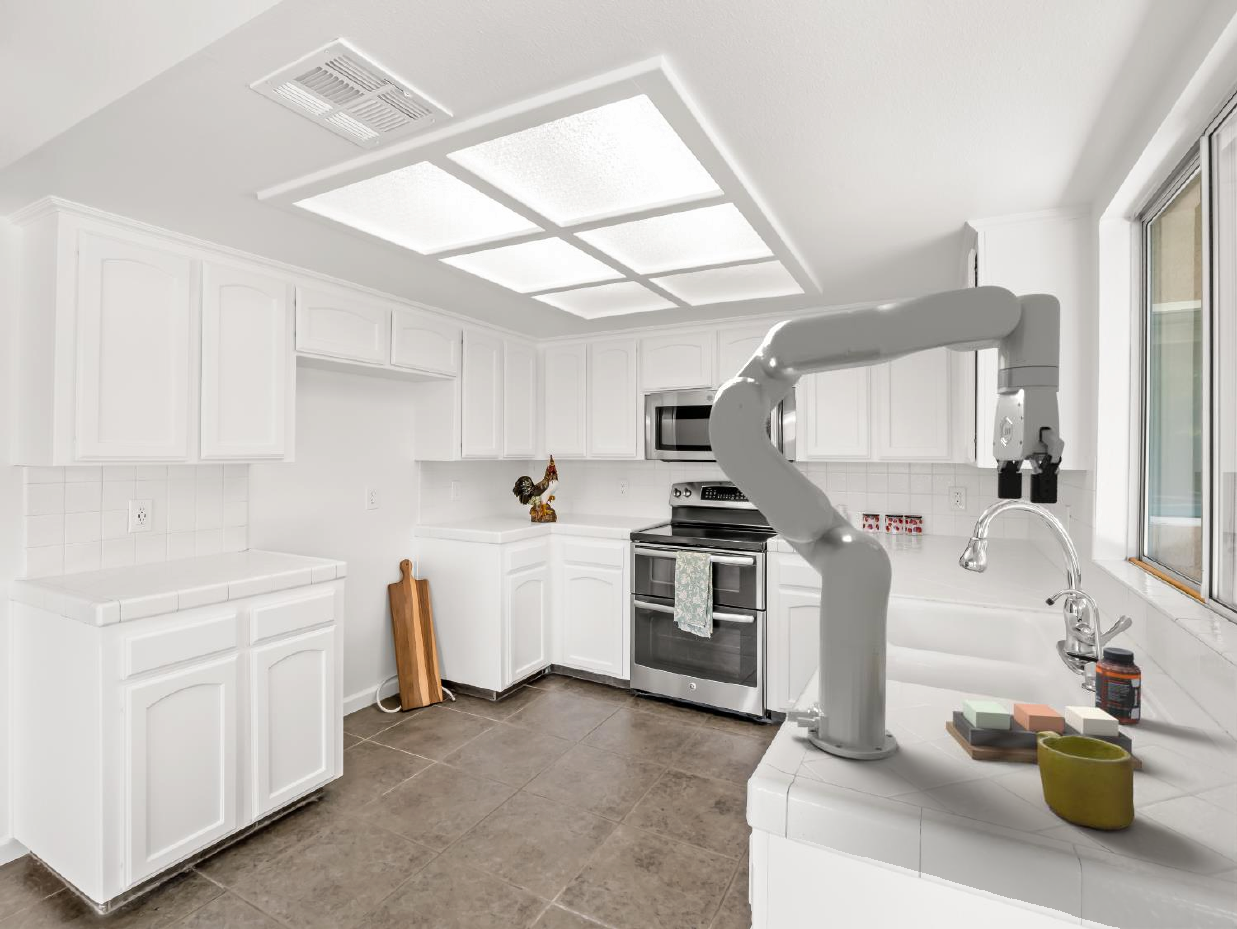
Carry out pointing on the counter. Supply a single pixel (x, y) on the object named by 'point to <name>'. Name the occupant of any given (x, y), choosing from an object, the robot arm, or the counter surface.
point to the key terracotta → (1038, 718)
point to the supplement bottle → (1118, 685)
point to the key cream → (1091, 721)
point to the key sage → (986, 715)
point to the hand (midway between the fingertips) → (1025, 500)
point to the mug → (1086, 780)
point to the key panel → (1016, 741)
